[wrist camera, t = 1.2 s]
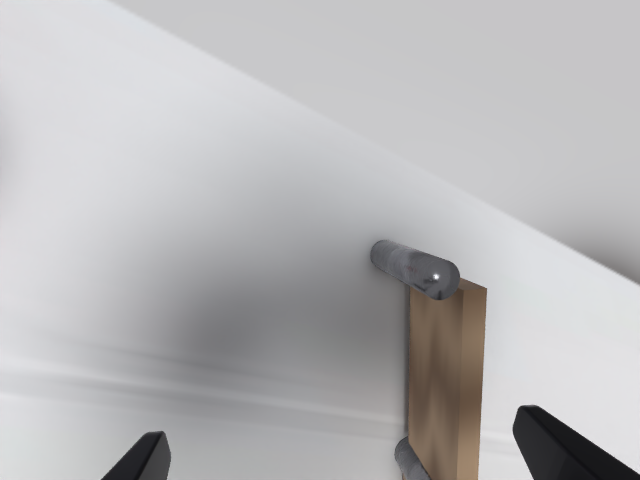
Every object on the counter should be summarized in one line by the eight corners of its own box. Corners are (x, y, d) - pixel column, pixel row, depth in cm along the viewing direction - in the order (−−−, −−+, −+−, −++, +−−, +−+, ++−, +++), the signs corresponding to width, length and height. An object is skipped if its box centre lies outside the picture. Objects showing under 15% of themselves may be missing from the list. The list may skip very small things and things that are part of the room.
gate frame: (423, 571, 24) (489, 718, 17) (372, 585, 23) (419, 744, 17) (431, 237, 21) (517, 257, 14) (370, 240, 20) (430, 264, 13)
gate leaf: (424, 438, 22) (476, 512, 17) (408, 441, 21) (455, 517, 16) (428, 265, 20) (486, 288, 15) (410, 266, 20) (463, 290, 15)
